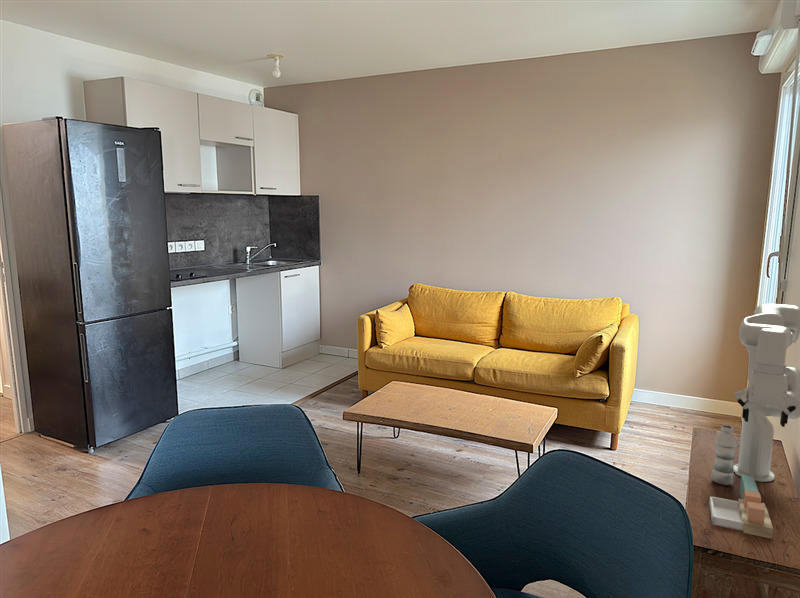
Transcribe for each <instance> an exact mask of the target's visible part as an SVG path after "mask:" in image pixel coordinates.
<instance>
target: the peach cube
mask: <svg viewBox="0 0 800 598" xmlns="http://www.w3.org/2000/svg"><path fill="white" fill-rule="evenodd" d="M746 516H747V520H748V521H753V522H758V523H763V524H764V519H765V508H764V505H763V504H759V503H754V502H749V501H747V509H746Z"/></svg>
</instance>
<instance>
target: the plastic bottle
mask: <svg viewBox="0 0 800 598" xmlns="http://www.w3.org/2000/svg"><path fill="white" fill-rule="evenodd" d="M734 434H735V427H733V426H732V425H727V424H722V425H721V427H720V433H719V434H718V435H717V436H716V437H715V440H714V441H715V442H714V443H715V446H714V447H715V457H714V458H715V459H714V464H713V467H712V470H711V479H712V481H713V482H714V483H716V484H718V485H722V486H730V485H732V484H733V483H734V479H735V473H734V472H733V466H734V462H735V454H736V452H737V448H738V444H739V443H738V440H737V439H736V437H735V436H734Z"/></svg>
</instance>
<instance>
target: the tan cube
mask: <svg viewBox="0 0 800 598" xmlns="http://www.w3.org/2000/svg"><path fill="white" fill-rule="evenodd" d="M747 501H749V502H754V503H759V504H761V503H762V495H761V493H760V492H759V491H758V492H753V491H748V490H744V496H743V504H744V508H747Z"/></svg>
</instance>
